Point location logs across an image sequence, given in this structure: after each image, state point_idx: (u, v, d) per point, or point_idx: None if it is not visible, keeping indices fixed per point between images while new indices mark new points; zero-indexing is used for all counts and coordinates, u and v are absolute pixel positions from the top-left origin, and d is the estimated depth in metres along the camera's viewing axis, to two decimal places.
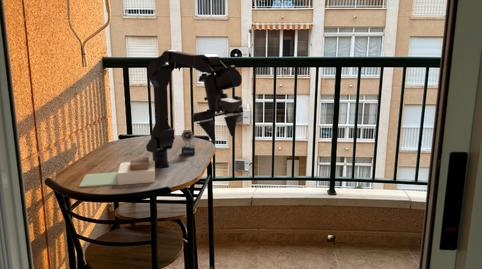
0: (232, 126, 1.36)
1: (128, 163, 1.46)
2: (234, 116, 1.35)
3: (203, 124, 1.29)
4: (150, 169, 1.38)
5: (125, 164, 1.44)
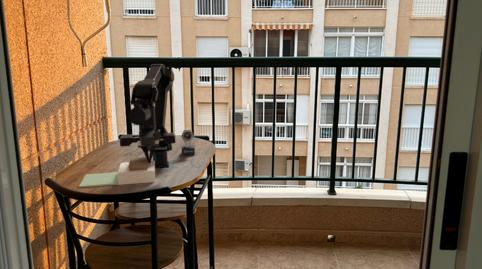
0: None
1: (128, 163, 1.46)
2: (150, 146, 1.39)
3: None
4: (150, 169, 1.38)
5: (125, 164, 1.44)
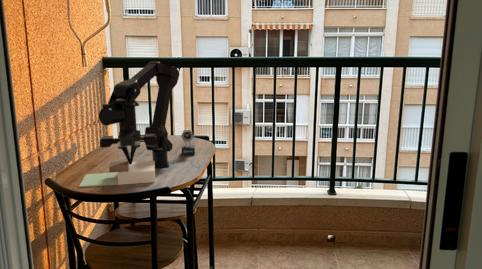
0: None
1: None
2: (131, 147, 1.38)
3: None
4: (150, 169, 1.38)
5: None
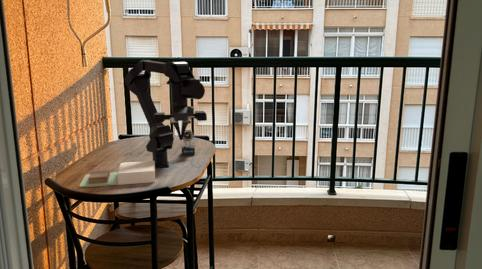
0: (181, 131, 1.45)
1: (128, 163, 1.46)
2: (182, 123, 1.43)
3: None
4: (150, 169, 1.38)
5: (125, 164, 1.44)
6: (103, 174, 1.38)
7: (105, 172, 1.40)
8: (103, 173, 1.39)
